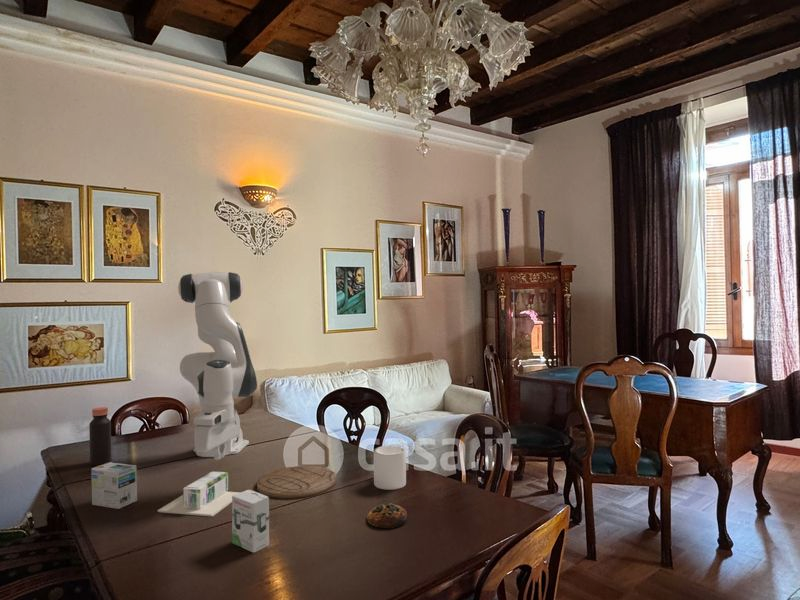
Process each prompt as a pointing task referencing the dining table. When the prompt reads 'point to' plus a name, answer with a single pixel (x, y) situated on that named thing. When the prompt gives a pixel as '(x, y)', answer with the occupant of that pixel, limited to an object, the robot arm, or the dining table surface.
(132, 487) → the light bulb box
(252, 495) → the ink box
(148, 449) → the dining table surface
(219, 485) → the syrup box
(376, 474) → the mug
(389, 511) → the bread roll
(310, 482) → the trivet
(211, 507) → the mat
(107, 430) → the bottle
